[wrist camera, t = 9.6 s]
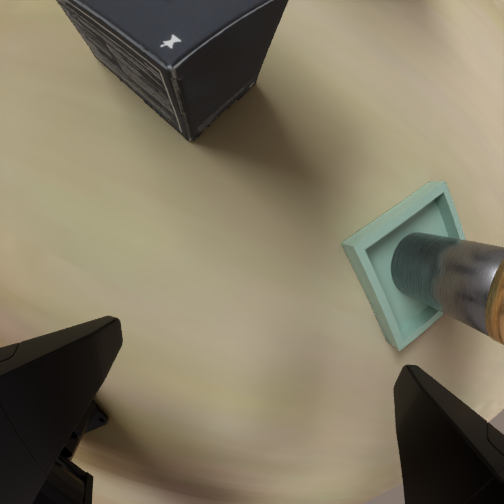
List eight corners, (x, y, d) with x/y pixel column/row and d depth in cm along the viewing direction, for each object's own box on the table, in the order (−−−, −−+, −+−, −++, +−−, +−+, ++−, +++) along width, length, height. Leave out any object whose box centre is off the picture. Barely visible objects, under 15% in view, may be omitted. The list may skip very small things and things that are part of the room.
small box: (262, 81, 18) (307, -15, 8) (191, 145, 18) (168, 81, 8) (160, 2, 16) (140, -95, 6) (93, 57, 16) (29, -23, 6)
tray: (386, 341, 22) (399, 351, 20) (340, 242, 20) (353, 246, 18) (461, 277, 22) (476, 282, 20) (429, 182, 20) (445, 180, 19)
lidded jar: (417, 306, 21) (533, 369, 9) (378, 274, 20) (511, 336, 8) (447, 254, 21) (569, 288, 9) (412, 218, 20) (551, 236, 8)
